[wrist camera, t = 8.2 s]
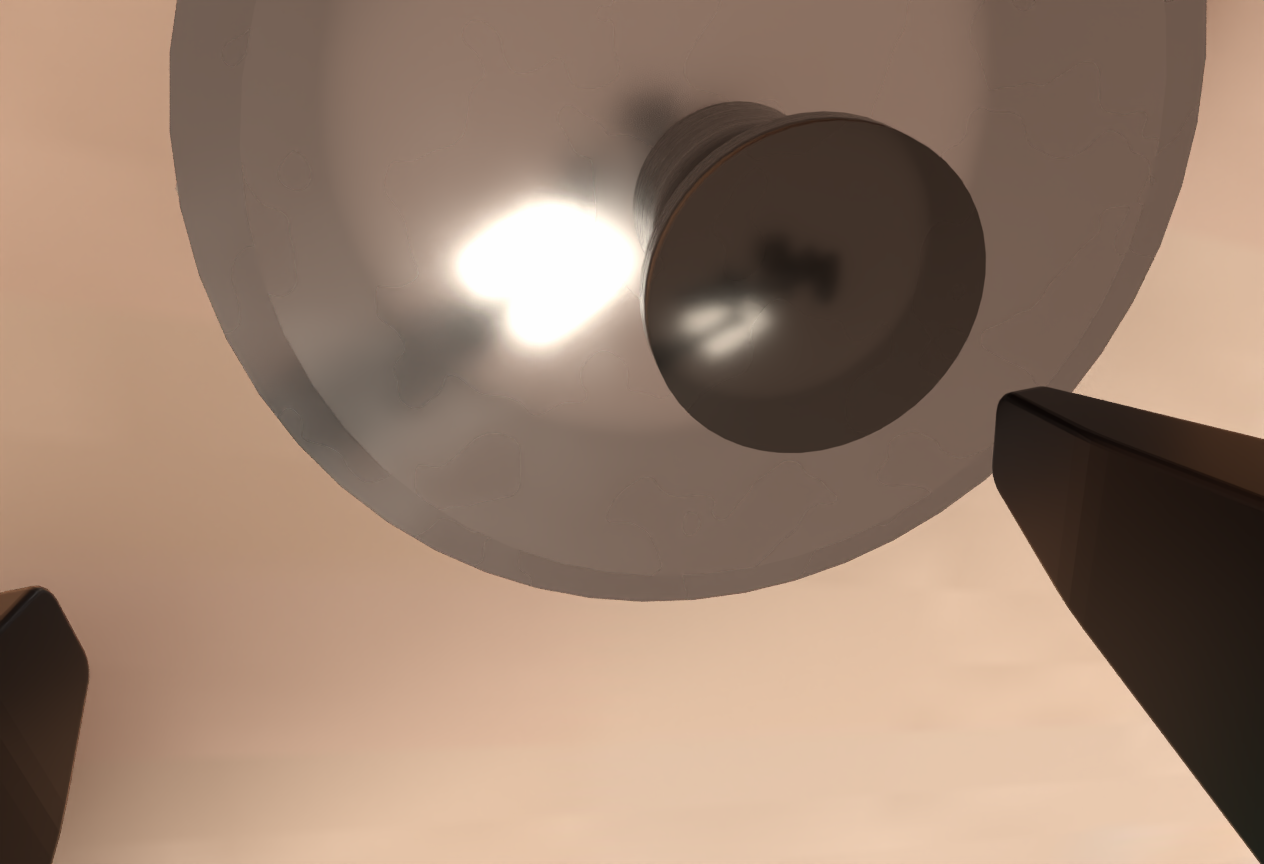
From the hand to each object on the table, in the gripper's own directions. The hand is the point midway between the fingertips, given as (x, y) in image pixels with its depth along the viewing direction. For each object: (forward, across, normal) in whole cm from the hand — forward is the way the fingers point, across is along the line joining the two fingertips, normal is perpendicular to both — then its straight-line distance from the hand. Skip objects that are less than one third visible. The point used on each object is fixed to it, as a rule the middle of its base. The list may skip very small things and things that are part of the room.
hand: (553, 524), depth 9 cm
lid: (+8, -4, -1) cm, 8 cm away
